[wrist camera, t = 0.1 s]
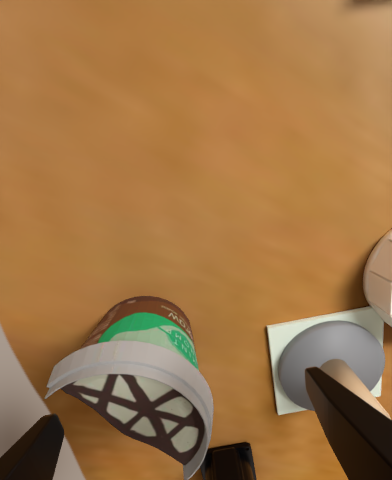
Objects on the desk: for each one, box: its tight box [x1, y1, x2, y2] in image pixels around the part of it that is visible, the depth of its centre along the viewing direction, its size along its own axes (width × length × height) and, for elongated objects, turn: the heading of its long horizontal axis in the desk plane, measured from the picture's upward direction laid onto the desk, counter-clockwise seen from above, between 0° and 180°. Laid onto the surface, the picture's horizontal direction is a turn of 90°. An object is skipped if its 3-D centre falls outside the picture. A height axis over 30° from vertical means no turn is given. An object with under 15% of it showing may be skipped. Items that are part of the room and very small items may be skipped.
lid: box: [278, 320, 390, 419], centre depth 24 cm, size 11×11×6 cm
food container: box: [44, 296, 214, 480], centre depth 20 cm, size 12×6×10 cm, turn 45°
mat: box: [267, 306, 384, 415], centre depth 27 cm, size 12×12×1 cm
